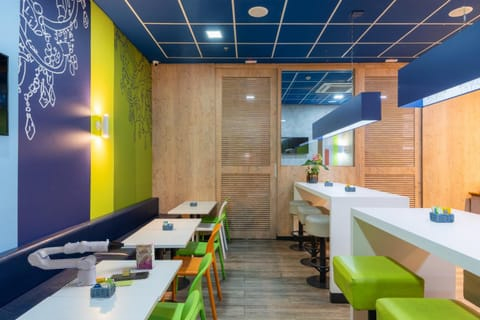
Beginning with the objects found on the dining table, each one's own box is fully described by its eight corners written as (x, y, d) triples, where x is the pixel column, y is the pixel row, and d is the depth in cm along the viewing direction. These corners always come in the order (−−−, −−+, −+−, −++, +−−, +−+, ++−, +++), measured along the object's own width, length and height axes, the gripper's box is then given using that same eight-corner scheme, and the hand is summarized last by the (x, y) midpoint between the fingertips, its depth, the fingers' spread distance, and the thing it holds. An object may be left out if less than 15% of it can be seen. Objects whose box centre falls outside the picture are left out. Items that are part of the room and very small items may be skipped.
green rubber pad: (113, 287, 173) (113, 286, 173) (116, 282, 180) (116, 281, 180) (131, 285, 174) (131, 284, 174) (133, 280, 181) (133, 279, 181)
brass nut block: (122, 280, 183) (122, 271, 183) (124, 277, 187) (123, 268, 187) (129, 279, 184) (129, 270, 184) (130, 277, 188) (130, 268, 188)
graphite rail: (109, 282, 181) (109, 278, 181) (112, 277, 188) (112, 274, 188) (147, 278, 184) (147, 275, 184) (149, 274, 191) (149, 271, 191)
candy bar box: (136, 269, 201) (135, 245, 201) (139, 266, 206) (138, 243, 206) (152, 269, 200) (151, 244, 200) (155, 266, 205) (154, 242, 205)
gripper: (95, 241, 175) (120, 240, 177) (102, 238, 189) (125, 237, 191) (95, 253, 174) (119, 252, 176) (102, 249, 188) (124, 249, 190)
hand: (122, 245), depth 184 cm, fingers open, 7 cm apart
